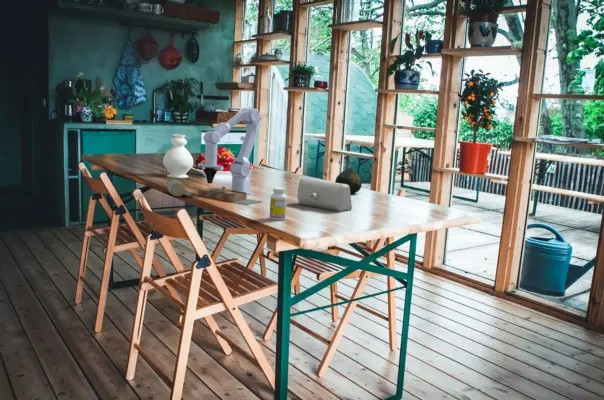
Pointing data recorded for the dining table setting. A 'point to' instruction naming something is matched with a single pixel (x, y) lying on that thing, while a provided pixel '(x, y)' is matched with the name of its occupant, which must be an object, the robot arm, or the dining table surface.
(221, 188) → the lever cap
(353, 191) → the squash
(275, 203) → the supplement bottle
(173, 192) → the ceramic mug
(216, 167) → the robot arm
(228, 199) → the body
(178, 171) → the decorative vase
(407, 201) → the dining table surface
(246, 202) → the mat
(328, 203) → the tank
